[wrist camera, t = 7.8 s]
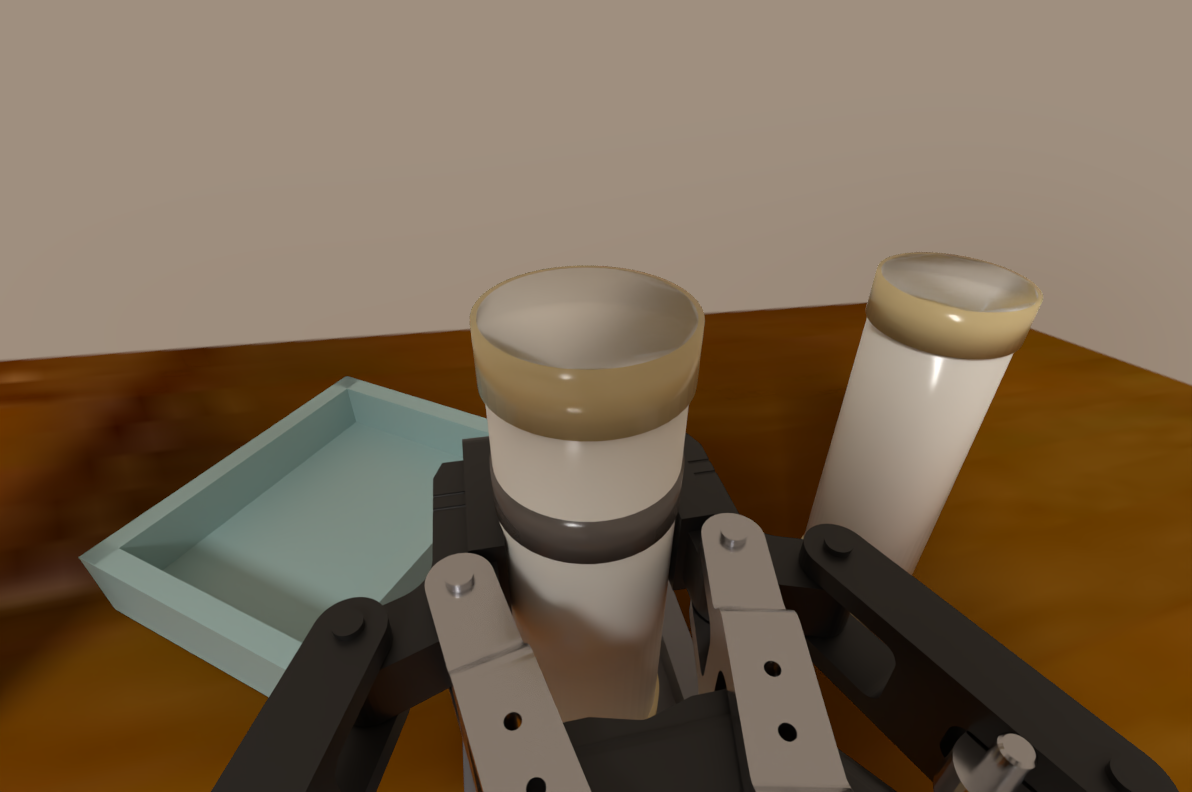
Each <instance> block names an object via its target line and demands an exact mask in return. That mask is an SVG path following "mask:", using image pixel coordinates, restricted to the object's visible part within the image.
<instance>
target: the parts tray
mask: <svg viewBox="0 0 1192 792" xmlns="http://www.w3.org/2000/svg"><path fill="white" fill-rule="evenodd" d="M485 436H489V431H488V422H487V419H486V418H483V417H480V416H476V415H473V414H470V413H466V412H463V411H460V410H457V409H453V408H450V407H447V406H444V405H440V404H437V403H434V402H430V401H427V400H424V399H421V398H417V397H414V396H411V395H407V394H404V393H401V392H398V391H394V390H391V389H388V388H385V387H381V386H378V385H375V384H371V383H368V382H365V381H362V380H358V379H355V378H352V377H348V376H346V377H344V378H343V379H341V380H340V381H338V382H337V383H335V384H334V385H332V386H331V387H329V388H328V389H326V390H325V391H323V392H322V393H320V394H319V395H318V396H316V397H315V398H313V399H312V400H310V401H309V402H307V403H306V404H304V405H303V406H301V407H300V408H298V409H297V410H295V411H294V412H292V413H291V414H289V415H288V416H286V417H285V418H284V419H282V420H281V421H279V422H278V423H276V424H275V425H273V426H272V427H270V428H269V429H267V430H266V431H264V432H263V433H261V434H260V435H258V436H257V437H255V438H254V439H252V440H251V441H250V442H248V443H247V444H245V445H244V446H242V447H241V448H239V449H238V450H236V451H235V452H233V453H232V454H230V455H229V456H227V457H226V458H224V459H223V460H221V461H220V462H218V463H217V464H216V465H214V466H213V467H211V468H210V469H208V470H207V471H205V472H204V473H202V474H201V475H199V476H198V477H196V478H195V479H193V480H192V481H190V482H189V483H187V484H186V485H184V486H183V487H182V488H180V489H179V490H177V491H176V492H174V493H173V494H171V495H170V496H168V497H167V498H165V499H164V500H162V501H161V502H159V503H158V504H156V505H155V506H153V507H152V508H150V509H149V510H148V511H146V512H145V513H143V514H142V515H140V516H139V517H137V518H136V519H134V520H133V521H131V522H130V523H128V524H127V525H125V526H124V527H122V528H121V529H119V530H118V531H116V532H115V533H114V534H112V535H111V536H109V537H108V538H106V539H105V540H103V541H102V542H100V543H99V544H97V545H96V546H94V547H93V548H91V549H90V550H88V551H87V552H85V553H84V554H82V555H81V556H80V557H79V559H80V560H81V562H82V563H83V564H84V566H85V567H86V569H87V570H88V572H89V573H90V574H91V576H92V577H93V579H94V580H95V581H96V583H97V584H98V586H99V587H100V589H101V590H102V591H103V593H104V594H105V596H106V597H107V599H108V600H109V601H110V603H111V604H112V606H113V607H114V608H115V609H116V610H117V611H119V612H121V613H123V614H124V615H126V616H128V617H130V618H131V619H133V620H135V621H137V622H138V623H140V624H142V625H144V626H145V627H147V628H149V629H151V630H152V631H154V632H156V633H157V634H159V635H161V636H163V637H164V638H166V639H168V640H170V641H171V642H173V643H175V644H177V645H178V646H180V647H182V648H184V649H185V650H187V651H189V652H191V653H192V654H194V655H196V656H198V657H199V658H201V659H203V660H205V661H206V662H208V663H210V664H212V665H213V666H215V667H217V668H219V669H220V670H222V671H224V672H226V673H227V674H229V675H231V676H233V677H234V678H236V679H238V680H240V681H241V682H243V683H245V684H247V685H248V686H250V687H252V688H254V689H255V690H257V691H259V692H261V693H262V694H264V695H266V696H268V697H269V696H270V695H271V693H272V691H273V690H274V688H275V687H276V685H277V683H278V682H279V680H280V678H281V677H282V675H283V673H284V672H285V670H286V669H287V667H288V665H289V664H290V662H291V660H292V659H293V657H294V656H295V654H296V652H297V651H298V649H299V647H300V646H301V644H302V642H303V641H304V639H305V638H306V636H307V634H308V633H309V631H310V629H311V628H312V626H313V624H314V623H315V621H316V620H317V619H318V617H319V616H320V615H321V614H322V613H323V612H324V611H325V610H327V609H328V608H329V607H331V606H332V605H334V604H336V603H338V602H340V601H342V600H345V599H349V598H353V597H367V598H372V599H374V600H376V601H378V602H379V603H381V604H382V605H384V604H387V603H389V602H391V601H393V600H396V599H398V598H400V597H402V596H404V595H406V594H408V593H410V592H411V591H413V590H414V589H416V588H417V587H418V586H419V585H420V584H421V583H422V582H423V581H424V580H425V578H426V576H427V574H428V572H429V571H430V569H431V566H432V546H433V478H434V476H435V474H436V473H437V471H438V469H439V467H440V466H441V464H442V463H445V462H453V461H461V460H463V449H462V439H468V438H476V437H485Z"/></svg>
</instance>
